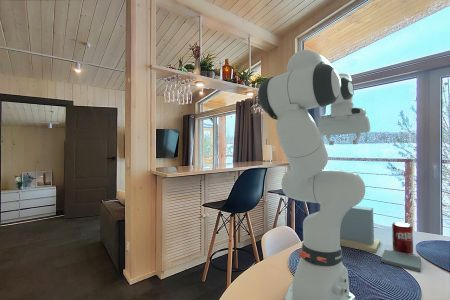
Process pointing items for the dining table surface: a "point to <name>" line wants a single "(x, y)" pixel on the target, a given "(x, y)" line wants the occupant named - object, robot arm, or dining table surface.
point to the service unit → (359, 229)
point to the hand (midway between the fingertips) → (343, 144)
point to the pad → (401, 260)
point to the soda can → (402, 237)
